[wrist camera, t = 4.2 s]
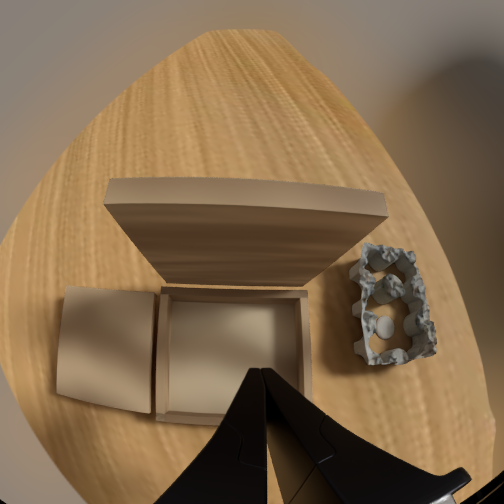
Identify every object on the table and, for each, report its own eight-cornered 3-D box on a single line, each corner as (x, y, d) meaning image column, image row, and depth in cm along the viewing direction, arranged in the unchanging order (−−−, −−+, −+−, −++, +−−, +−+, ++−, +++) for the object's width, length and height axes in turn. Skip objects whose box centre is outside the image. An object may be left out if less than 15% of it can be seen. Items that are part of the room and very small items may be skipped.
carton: (303, 416, 19) (312, 420, 17) (71, 398, 17) (56, 399, 15) (298, 298, 23) (307, 290, 21) (80, 289, 21) (67, 279, 19)
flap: (302, 286, 20) (388, 216, 9) (166, 283, 19) (103, 203, 8) (301, 271, 21) (382, 189, 10) (168, 267, 20) (110, 175, 9)
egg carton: (412, 364, 22) (439, 359, 18) (345, 367, 21) (368, 365, 17) (406, 262, 26) (428, 246, 22) (344, 254, 26) (363, 234, 22)
